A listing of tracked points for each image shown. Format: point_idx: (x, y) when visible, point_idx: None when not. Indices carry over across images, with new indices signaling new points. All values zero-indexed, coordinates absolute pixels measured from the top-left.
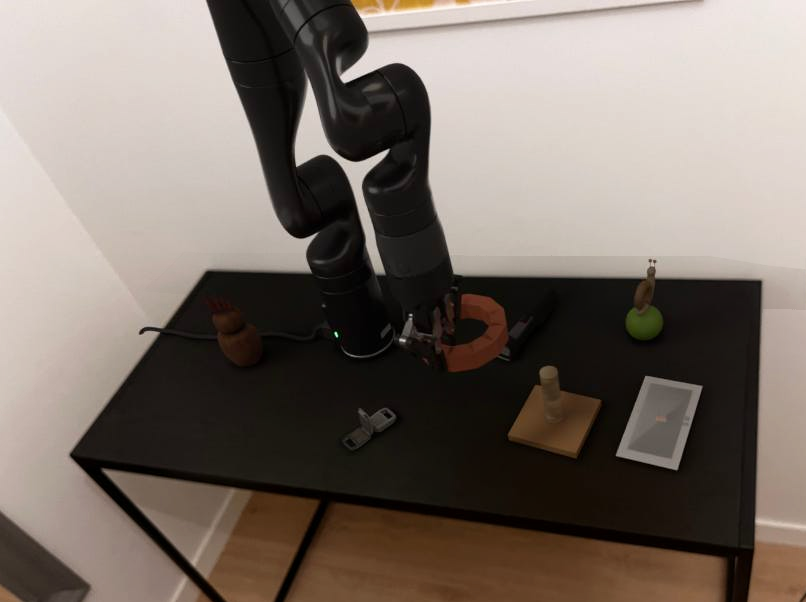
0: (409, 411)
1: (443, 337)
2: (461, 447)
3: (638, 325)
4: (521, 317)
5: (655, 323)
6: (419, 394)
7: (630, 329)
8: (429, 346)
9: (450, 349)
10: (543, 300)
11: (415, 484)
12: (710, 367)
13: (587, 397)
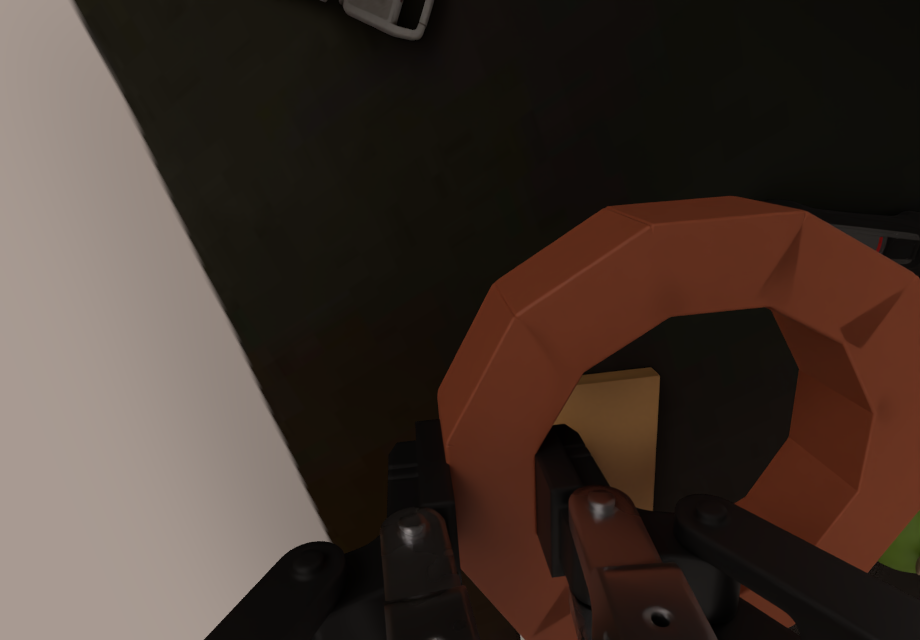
0: (464, 62)
1: (550, 541)
2: (410, 292)
3: None
4: (906, 229)
5: (896, 569)
6: (540, 51)
7: None
8: (386, 638)
9: (513, 539)
10: None
11: (245, 246)
12: (791, 626)
13: (651, 496)
